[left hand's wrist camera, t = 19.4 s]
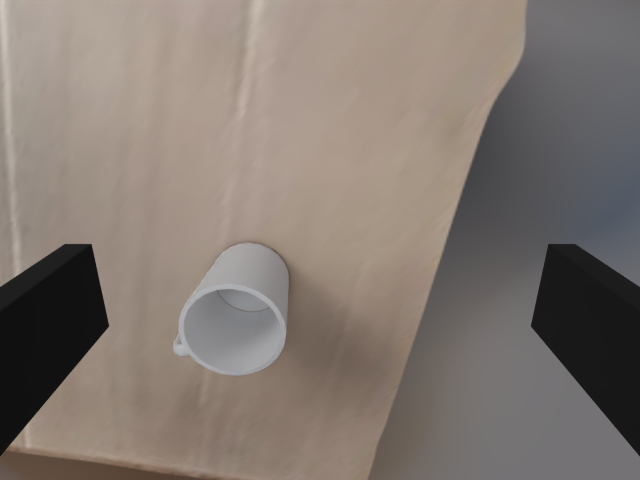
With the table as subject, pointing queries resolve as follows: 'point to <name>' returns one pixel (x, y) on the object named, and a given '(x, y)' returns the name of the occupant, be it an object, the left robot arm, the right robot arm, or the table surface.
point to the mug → (237, 312)
